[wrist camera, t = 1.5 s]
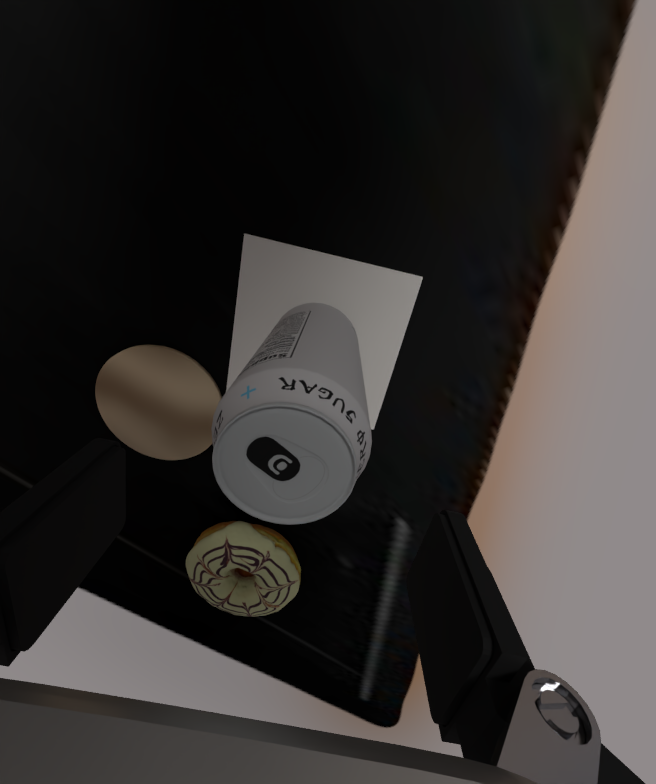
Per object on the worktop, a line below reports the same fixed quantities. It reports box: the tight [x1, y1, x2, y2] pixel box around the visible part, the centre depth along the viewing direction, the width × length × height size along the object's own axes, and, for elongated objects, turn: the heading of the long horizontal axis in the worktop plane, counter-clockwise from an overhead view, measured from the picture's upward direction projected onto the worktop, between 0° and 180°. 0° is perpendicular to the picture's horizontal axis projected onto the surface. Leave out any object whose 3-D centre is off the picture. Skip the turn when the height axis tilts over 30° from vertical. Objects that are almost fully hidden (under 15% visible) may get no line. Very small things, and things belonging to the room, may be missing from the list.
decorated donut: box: [186, 521, 301, 617], centre depth 33 cm, size 10×11×4 cm
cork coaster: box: [95, 344, 222, 460], centre depth 28 cm, size 10×10×1 cm
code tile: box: [226, 234, 423, 430], centre depth 25 cm, size 12×12×1 cm
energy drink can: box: [211, 303, 372, 525], centre depth 18 cm, size 6×6×15 cm
